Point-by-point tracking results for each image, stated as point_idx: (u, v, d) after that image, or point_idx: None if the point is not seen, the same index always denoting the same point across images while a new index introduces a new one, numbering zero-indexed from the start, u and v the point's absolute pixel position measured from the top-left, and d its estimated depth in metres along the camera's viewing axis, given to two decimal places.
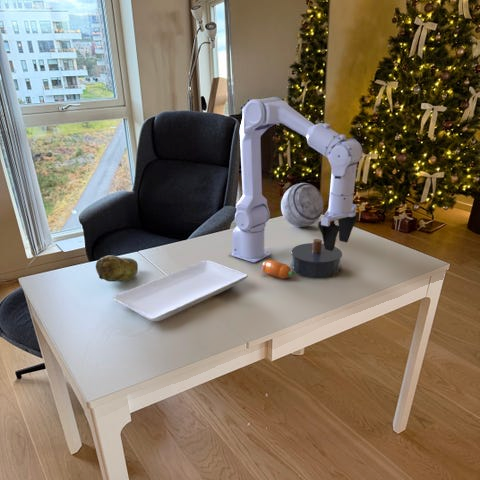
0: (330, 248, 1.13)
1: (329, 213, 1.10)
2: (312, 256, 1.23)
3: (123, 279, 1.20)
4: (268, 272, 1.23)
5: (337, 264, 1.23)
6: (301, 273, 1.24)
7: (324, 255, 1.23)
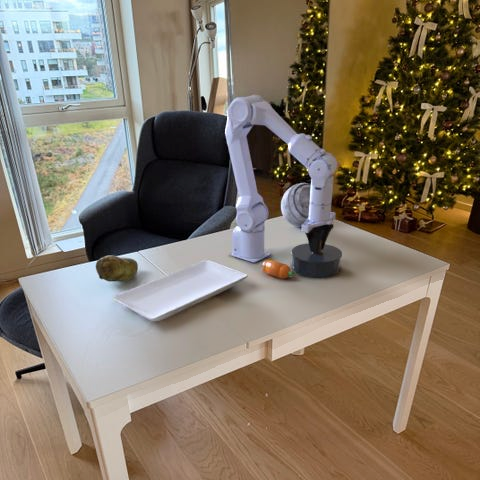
0: (315, 250, 1.23)
1: (309, 221, 1.20)
2: (312, 256, 1.23)
3: (123, 279, 1.20)
4: (268, 272, 1.23)
5: (337, 264, 1.23)
6: (301, 273, 1.24)
7: (324, 255, 1.23)
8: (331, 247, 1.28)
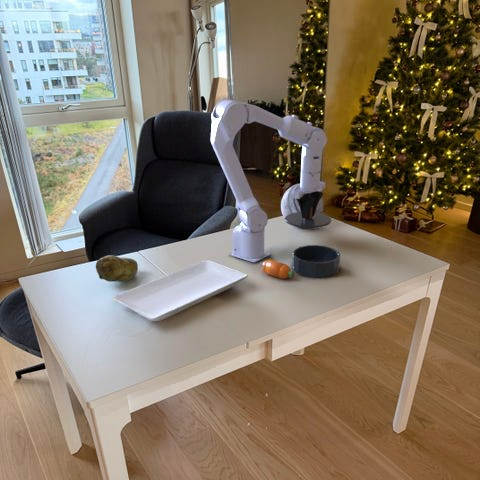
0: (306, 216, 1.34)
1: (300, 188, 1.31)
2: (304, 221, 1.34)
3: (123, 279, 1.20)
4: (268, 272, 1.23)
5: (337, 264, 1.23)
6: (301, 273, 1.24)
7: (315, 221, 1.34)
8: (321, 215, 1.39)
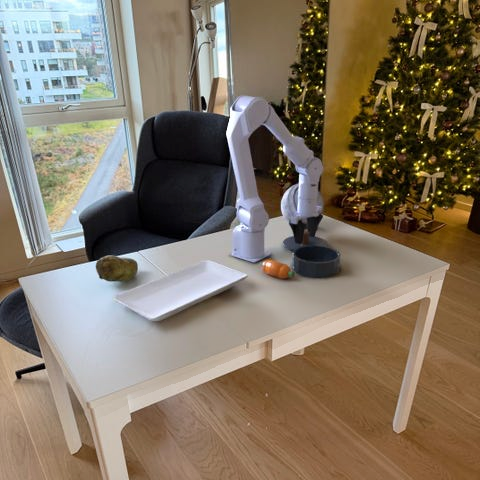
0: (299, 242, 1.39)
1: (298, 213, 1.37)
2: (301, 245, 1.40)
3: (123, 279, 1.20)
4: (268, 272, 1.23)
5: (337, 264, 1.23)
6: (301, 273, 1.24)
7: None
8: (318, 238, 1.46)
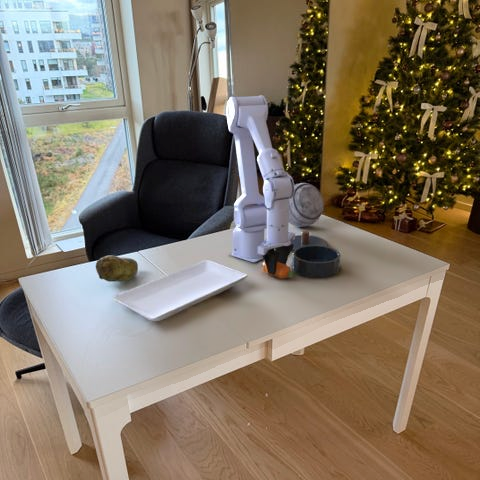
0: (272, 272, 1.21)
1: (266, 242, 1.18)
2: (301, 245, 1.40)
3: (123, 279, 1.20)
4: None
5: (337, 264, 1.23)
6: (301, 273, 1.24)
7: None
8: (318, 238, 1.46)
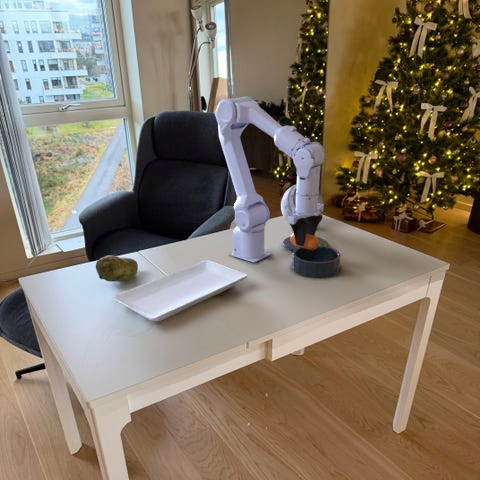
0: (301, 243, 1.20)
1: (296, 212, 1.17)
2: None
3: (123, 279, 1.20)
4: None
5: (337, 264, 1.23)
6: (301, 273, 1.24)
7: None
8: (318, 238, 1.46)
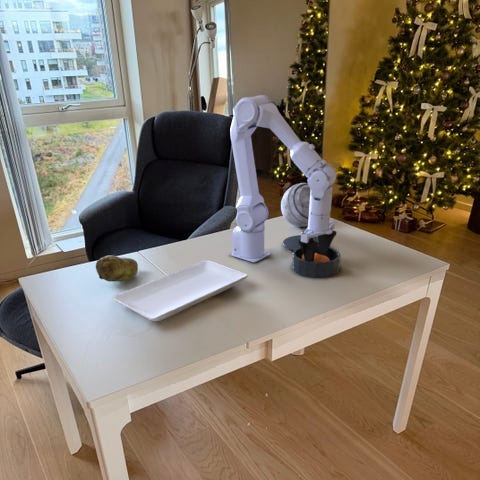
0: None
1: (308, 230, 1.21)
2: None
3: (123, 279, 1.20)
4: None
5: (337, 264, 1.23)
6: (301, 273, 1.24)
7: None
8: None
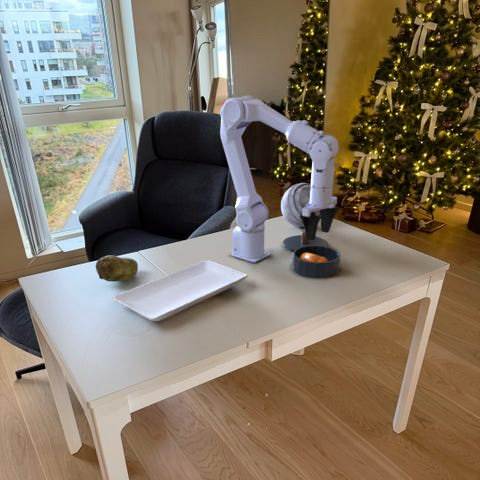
0: (311, 238, 1.20)
1: (310, 205, 1.17)
2: (301, 245, 1.40)
3: (123, 279, 1.20)
4: None
5: (337, 264, 1.23)
6: (301, 273, 1.24)
7: None
8: (318, 238, 1.46)
